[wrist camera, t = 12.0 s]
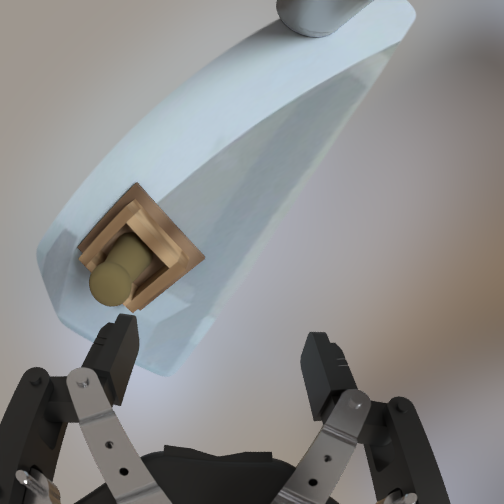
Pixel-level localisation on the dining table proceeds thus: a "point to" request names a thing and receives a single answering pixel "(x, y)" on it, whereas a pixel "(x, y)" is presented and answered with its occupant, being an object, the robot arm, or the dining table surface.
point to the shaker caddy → (156, 238)
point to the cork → (120, 270)
